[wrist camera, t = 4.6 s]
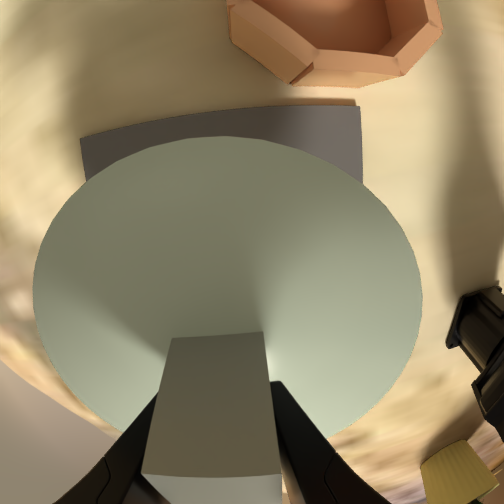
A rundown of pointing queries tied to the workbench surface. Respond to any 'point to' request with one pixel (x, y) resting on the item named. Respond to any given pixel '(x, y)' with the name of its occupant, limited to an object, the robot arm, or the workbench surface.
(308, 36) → the bowl
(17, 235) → the workbench surface
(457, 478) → the potted cactus
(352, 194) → the pale green round piece
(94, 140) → the mat
